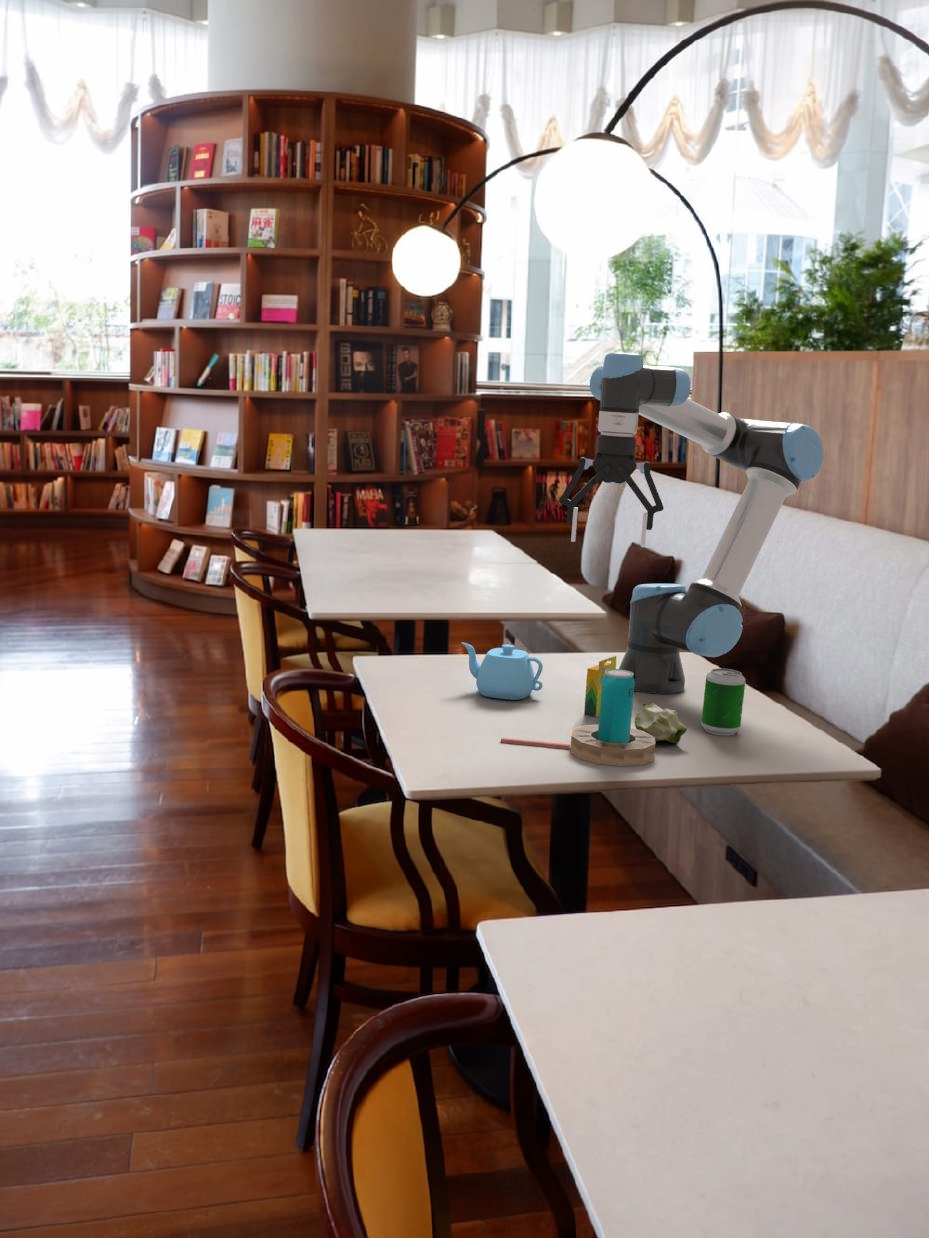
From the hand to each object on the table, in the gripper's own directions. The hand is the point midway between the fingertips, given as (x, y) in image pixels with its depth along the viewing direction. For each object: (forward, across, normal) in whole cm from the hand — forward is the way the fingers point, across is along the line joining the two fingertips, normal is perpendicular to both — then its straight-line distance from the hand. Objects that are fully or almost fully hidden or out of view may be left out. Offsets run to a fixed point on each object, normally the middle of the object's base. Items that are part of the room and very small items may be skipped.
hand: (607, 543), depth 234 cm
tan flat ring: (+35, +4, -25) cm, 43 cm away
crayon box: (+35, +1, +1) cm, 35 cm away
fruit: (+35, +13, -15) cm, 40 cm away
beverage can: (+35, +4, -25) cm, 43 cm away
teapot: (+35, -20, +9) cm, 41 cm away
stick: (+35, -10, -25) cm, 44 cm away
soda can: (+35, +25, -4) cm, 43 cm away
